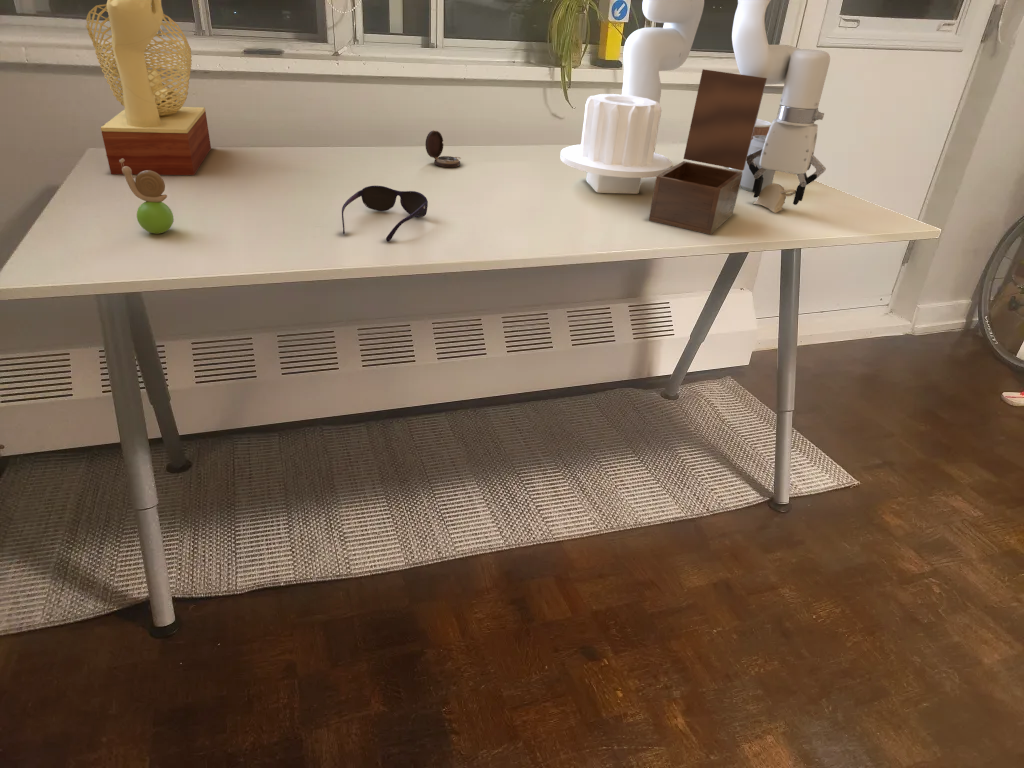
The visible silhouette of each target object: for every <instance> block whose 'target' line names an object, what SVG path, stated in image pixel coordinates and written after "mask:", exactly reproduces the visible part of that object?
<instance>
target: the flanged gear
mask: <svg viewBox="0 0 1024 768" xmlns="http://www.w3.org/2000/svg"><path fill="white" fill-rule="evenodd" d="M661 116H662V107H661V104H660V103H658V102H657V101H653V100H650V99H648V98H642V97H637V96H632V95H631V96H630V95H622V94H620V93H619V94H617V93H598V94H595V95H589V96H588V97H587V99H586V101H585V107H584V117H583V123H582V124H583V125H582V133H581V140H580V144H573V145H569V146H566V147H564V148H562V149H561V150H560V154H559V155H560V157H559V159H560V161H561V162H562V163H563V164H565V165H566V166H568V167H571V168H572V169H576V170H578V171H582V172H585V173H586V179H585V181H586V182H587V184H588V185H589V186H590V187H591V188H592V189H593V191H595V193H598V194H630V195H631V194H632V195H633V194H634V195H636V194H639V192H640V188H641V181H642V179H643V178H645V179H647V178H656V177H657V176H658V175H660V174H662V173H663V172H665V171H667V170H669V169H670V168H672V167H673V162H672V160H671V159H670V158H669V157H667V156H665V155H663V154H661V153H659V152H655V150H656V145H657V140H658V133H659V128H660V121H661Z"/></svg>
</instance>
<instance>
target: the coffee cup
mask: <svg viewBox="0 0 1024 768" xmlns="http://www.w3.org/2000/svg"><path fill="white" fill-rule="evenodd" d="M771 123H772V122H770V121H768V120H766V119H761V118H757V120H756V124H755V128H754V132H753V136H755V135H764V136H767V134H768V131H769V128H770V126H771ZM753 136H752V139H753ZM728 170H732V171H738V172H742V170H738V169H733V168H728Z"/></svg>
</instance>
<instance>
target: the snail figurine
mask: <svg viewBox="0 0 1024 768" xmlns="http://www.w3.org/2000/svg"><path fill="white" fill-rule="evenodd" d="M124 161H125V160H124V159H123V158H122V159H121V160H119V162H120V163H121V166H122V163H123V162H124ZM123 166H124V164H123ZM122 172H123V174H122V175H124V178H125V180H126V183H127V185H128V188H129V189H130V191H131V192H132V193H133V194H134V196H136V197H137V198H138V199H140V200H142V201H144V202H142V203H141V204H140V205H139V207H138V208H137V211H136V219H137V222H138V224H139V227H141V228H142V229H143V230H144V231H146V232H148V233H151V234H154V235H155V234H163V233H166V232H167V231H169V230H170V229H171V227H172V226H173V223H174V214H173V211H172V209H171V208H170V206H168V205H167V204H166V203H164V202H163V201H165V200H166V199H167V198H168V195H167V194H163V193H164V192H165V190H166V183H165V181H164V178H163V177H162V175H159V174H158V173H156V172H154V171H150V170H145V171H142V172H140V173H139V174H136V177H135V178H134V176H133V174H132V170H131V168H130V167H128V166H124V167H122Z"/></svg>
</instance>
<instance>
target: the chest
mask: <svg viewBox="0 0 1024 768" xmlns="http://www.w3.org/2000/svg"><path fill="white" fill-rule="evenodd" d="M742 174H743V172H740V171H735V170H732V169H728V168H721V167H717V166H711V165H708V164H707V165H706V164H700V163H696V162H690V161H686V160H683V161H681V162H679V163H678V164H676V165H674V166H672V167H671V168H670V169H669V170H667V171H665V172H663V173H662V174H660V175H658V176H656V177H655V181H654V182H655V184H654V189H653V195H652V200H651V206H650V211H649V217H648V221H650V222H654V223H659V224H663V225H667V226H671V227H674V228H675V227H676V228H679V229H680V228H681V229H685V230H689V231H693V232H697V233H701V234H706V235H712V234H713V233H714V232H715V231H717V229H718V228H720V227H721V226H722V225H723V224H724V223H725V222H726V221H727V220H728V219H729V218H731V217H732V216H733V215H734V211H735V207H736V203H737V199H738V195H739V190H740V187H741V185H740V182H741V178H742Z"/></svg>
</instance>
